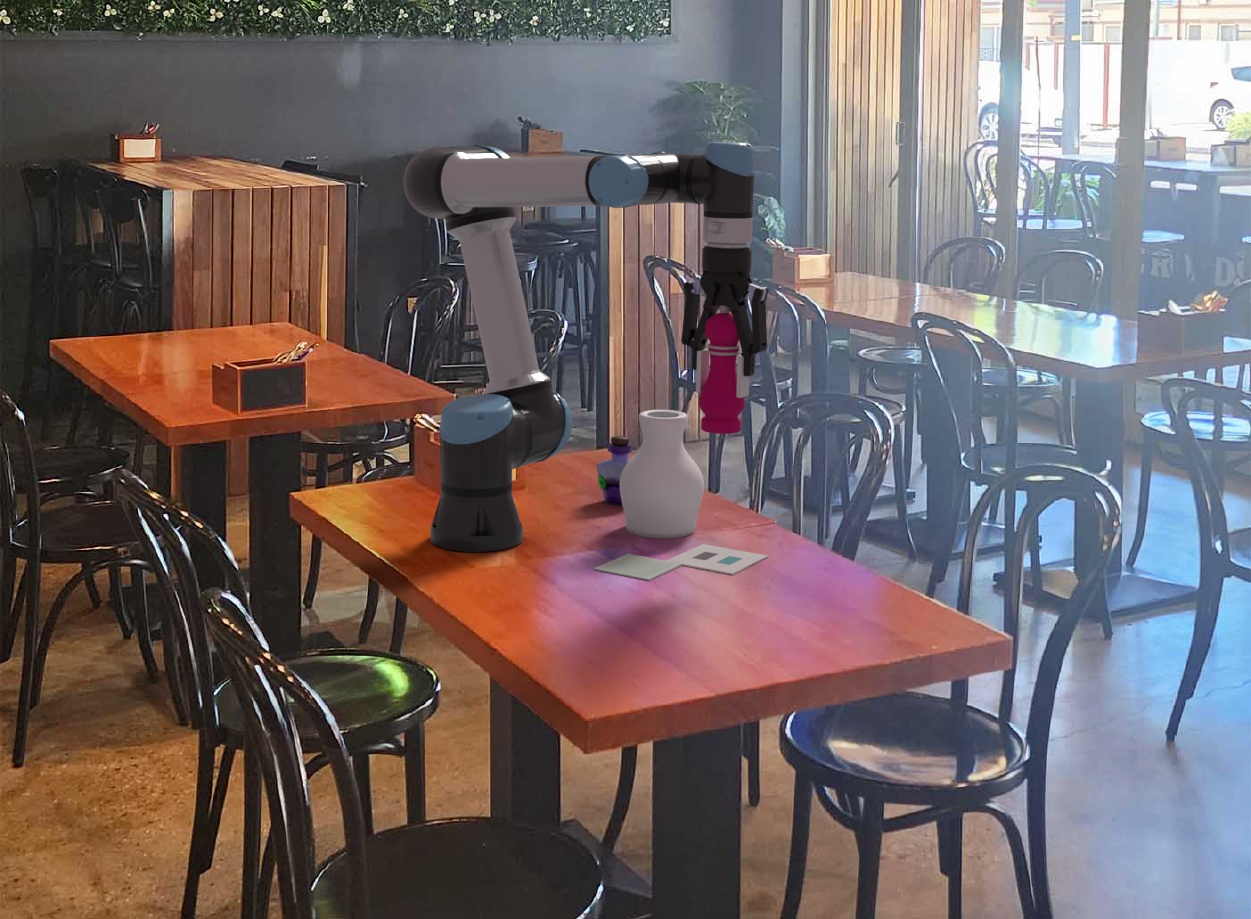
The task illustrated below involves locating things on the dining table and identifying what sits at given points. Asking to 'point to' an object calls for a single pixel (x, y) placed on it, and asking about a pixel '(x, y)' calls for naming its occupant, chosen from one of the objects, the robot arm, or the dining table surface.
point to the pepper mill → (721, 376)
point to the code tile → (717, 559)
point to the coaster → (638, 567)
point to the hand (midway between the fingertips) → (722, 393)
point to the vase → (661, 480)
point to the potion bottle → (613, 469)
